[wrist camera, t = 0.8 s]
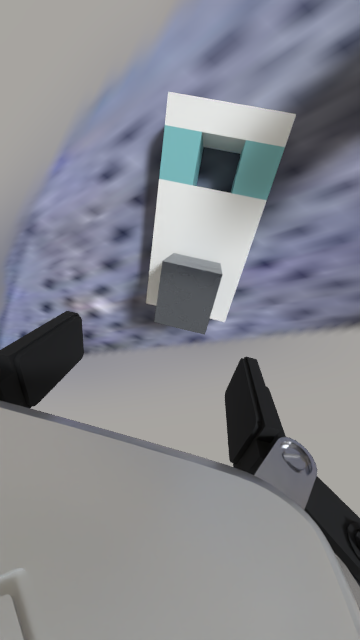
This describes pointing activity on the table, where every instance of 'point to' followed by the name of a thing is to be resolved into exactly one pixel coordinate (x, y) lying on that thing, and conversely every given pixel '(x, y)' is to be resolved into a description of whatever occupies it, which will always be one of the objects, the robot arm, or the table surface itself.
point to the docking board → (207, 204)
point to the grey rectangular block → (187, 292)
